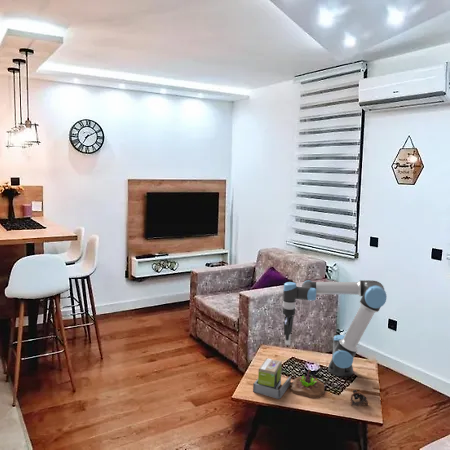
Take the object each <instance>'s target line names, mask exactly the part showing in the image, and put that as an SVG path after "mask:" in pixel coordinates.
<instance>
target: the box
mask: <svg viewBox="0 0 450 450" xmlns="http://www.w3.org/2000/svg"><path fill="white" fill-rule="evenodd" d="M291 382H292V376H291V375H290V376H289V377H288V378H287V379H286V380H285V381H284V383H283V384H282V385H281V386H280V388H278V389H274V388H271V387H267V386H264V385H260V384H258V378H257V379H256V380H255V381H254V382H253V386H252V392H253V393H256V394H259V395H262V396H266V397H270V398H273V399H276V400H281V398H282V397H283V396H284V394H285V393H286V391H287V390H288V388H290V383H291Z"/></svg>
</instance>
